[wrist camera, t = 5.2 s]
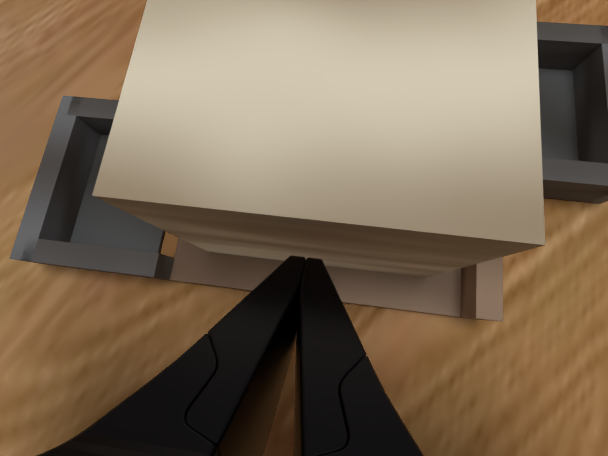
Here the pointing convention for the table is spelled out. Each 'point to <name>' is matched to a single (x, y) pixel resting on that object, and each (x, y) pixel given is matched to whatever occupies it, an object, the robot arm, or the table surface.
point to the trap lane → (348, 282)
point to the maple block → (334, 130)
